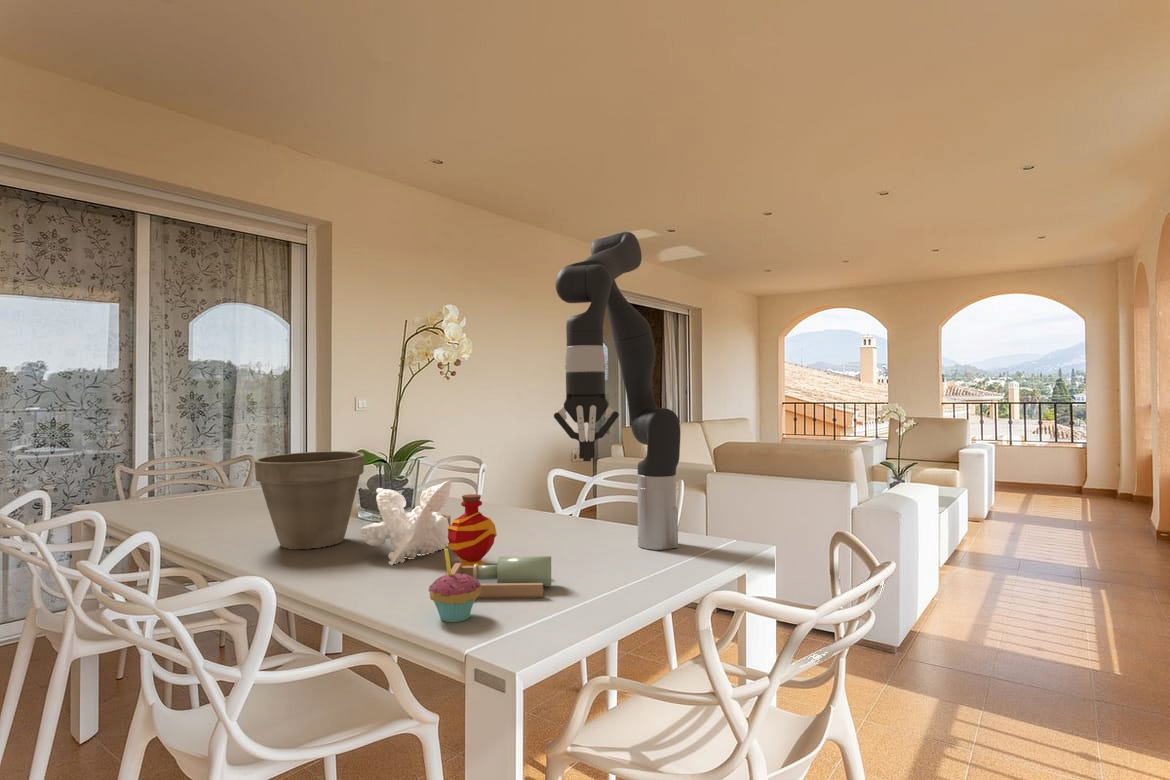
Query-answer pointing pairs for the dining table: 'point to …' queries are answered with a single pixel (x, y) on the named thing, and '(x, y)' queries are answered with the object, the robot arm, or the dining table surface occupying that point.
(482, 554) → the potion bottle
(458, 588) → the cupcake
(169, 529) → the dining table surface
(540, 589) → the wooden shallow tray
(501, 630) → the dining table surface
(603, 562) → the dining table surface
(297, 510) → the plant pot
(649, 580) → the dining table surface
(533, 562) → the bottle
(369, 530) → the white lumpy branched piece
